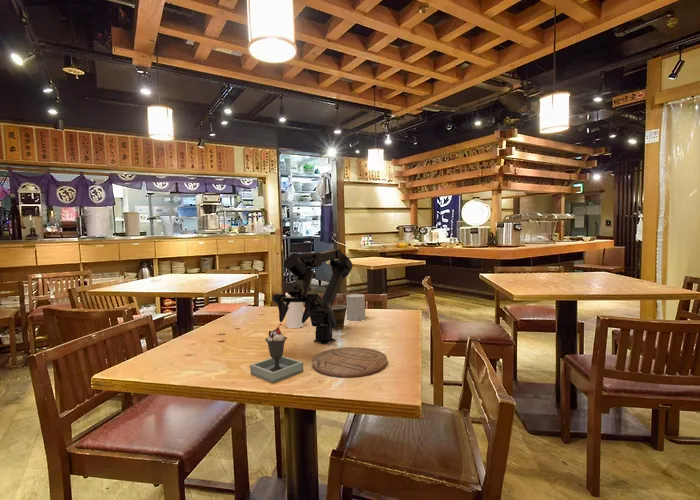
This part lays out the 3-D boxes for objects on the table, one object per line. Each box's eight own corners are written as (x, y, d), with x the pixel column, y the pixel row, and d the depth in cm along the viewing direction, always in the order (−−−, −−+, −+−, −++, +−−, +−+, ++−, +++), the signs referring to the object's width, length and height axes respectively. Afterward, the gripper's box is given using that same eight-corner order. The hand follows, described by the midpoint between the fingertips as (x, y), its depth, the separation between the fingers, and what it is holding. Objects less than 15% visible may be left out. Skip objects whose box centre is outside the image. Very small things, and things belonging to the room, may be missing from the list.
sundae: (287, 373, 111) (285, 325, 110) (265, 375, 110) (263, 326, 109) (288, 365, 117) (287, 320, 117) (267, 367, 117) (265, 321, 116)
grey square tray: (280, 363, 122) (280, 355, 122) (303, 371, 114) (303, 362, 114) (250, 374, 113) (250, 364, 113) (273, 383, 105) (272, 373, 105)
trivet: (366, 384, 104) (365, 378, 104) (296, 371, 116) (296, 365, 116) (398, 357, 125) (398, 352, 125) (337, 348, 138) (337, 343, 138)
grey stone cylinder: (345, 321, 179) (344, 297, 178) (348, 317, 188) (347, 294, 188) (364, 322, 177) (363, 297, 177) (366, 317, 187) (366, 294, 186)
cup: (302, 328, 168) (301, 294, 168) (285, 328, 168) (283, 294, 168) (305, 324, 177) (304, 291, 176) (288, 324, 177) (287, 292, 176)
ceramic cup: (334, 324, 173) (333, 304, 173) (351, 327, 167) (350, 306, 167) (316, 331, 163) (315, 309, 162) (333, 334, 157) (333, 311, 157)
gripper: (270, 272, 131) (256, 312, 123) (314, 270, 123) (303, 313, 115) (286, 286, 140) (274, 324, 132) (328, 286, 132) (318, 326, 124)
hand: (291, 322), depth 125 cm, fingers open, 9 cm apart
